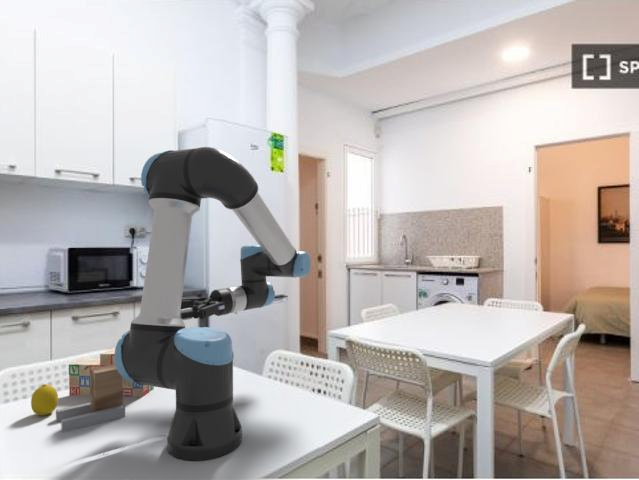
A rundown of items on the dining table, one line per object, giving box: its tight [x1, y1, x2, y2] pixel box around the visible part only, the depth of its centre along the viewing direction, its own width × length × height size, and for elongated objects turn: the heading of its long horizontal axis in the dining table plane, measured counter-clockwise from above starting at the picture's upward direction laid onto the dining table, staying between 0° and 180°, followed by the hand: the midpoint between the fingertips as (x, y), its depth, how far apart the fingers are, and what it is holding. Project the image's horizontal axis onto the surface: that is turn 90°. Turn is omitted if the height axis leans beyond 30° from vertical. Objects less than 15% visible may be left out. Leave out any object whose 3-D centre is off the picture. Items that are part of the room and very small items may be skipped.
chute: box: [55, 401, 126, 433], centre depth 103 cm, size 9×13×3 cm
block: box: [90, 364, 124, 413], centre depth 105 cm, size 5×6×11 cm
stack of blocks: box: [68, 347, 155, 398], centre depth 121 cm, size 21×6×12 cm, turn 84°
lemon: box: [30, 383, 59, 417], centre depth 106 cm, size 6×6×8 cm
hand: (155, 313), depth 113 cm, fingers open, 13 cm apart
